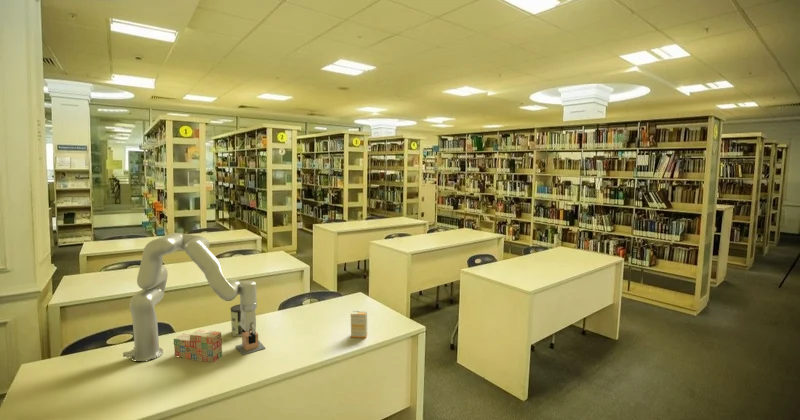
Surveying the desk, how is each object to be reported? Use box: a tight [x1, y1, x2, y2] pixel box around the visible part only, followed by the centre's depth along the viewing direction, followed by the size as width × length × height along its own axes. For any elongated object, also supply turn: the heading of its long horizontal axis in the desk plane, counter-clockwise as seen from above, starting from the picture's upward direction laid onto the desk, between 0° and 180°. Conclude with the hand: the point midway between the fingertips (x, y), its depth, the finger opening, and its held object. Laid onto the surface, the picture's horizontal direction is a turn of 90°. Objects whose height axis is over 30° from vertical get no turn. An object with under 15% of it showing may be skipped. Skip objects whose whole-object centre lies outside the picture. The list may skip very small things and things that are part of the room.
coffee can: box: [230, 304, 252, 337], centre depth 206 cm, size 10×10×14 cm
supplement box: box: [350, 310, 368, 339], centre depth 203 cm, size 8×5×13 cm, turn 84°
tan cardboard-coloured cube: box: [241, 331, 259, 351], centre depth 189 cm, size 6×6×7 cm
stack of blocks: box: [173, 329, 223, 364], centre depth 179 cm, size 21×6×12 cm, turn 77°
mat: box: [235, 339, 266, 356], centre depth 189 cm, size 11×11×1 cm
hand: (249, 339), depth 188 cm, fingers open, 9 cm apart
